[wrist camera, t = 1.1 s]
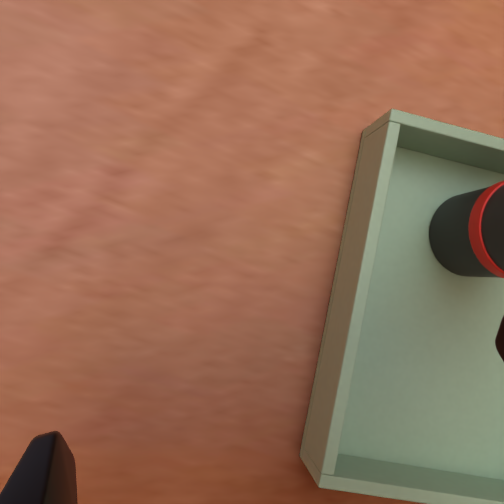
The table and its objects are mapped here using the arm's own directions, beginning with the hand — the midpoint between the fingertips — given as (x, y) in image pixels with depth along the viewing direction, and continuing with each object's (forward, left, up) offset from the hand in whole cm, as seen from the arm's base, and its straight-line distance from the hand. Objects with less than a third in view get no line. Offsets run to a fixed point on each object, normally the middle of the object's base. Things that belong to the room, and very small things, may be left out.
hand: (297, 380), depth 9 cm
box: (-10, -6, -14) cm, 19 cm away
